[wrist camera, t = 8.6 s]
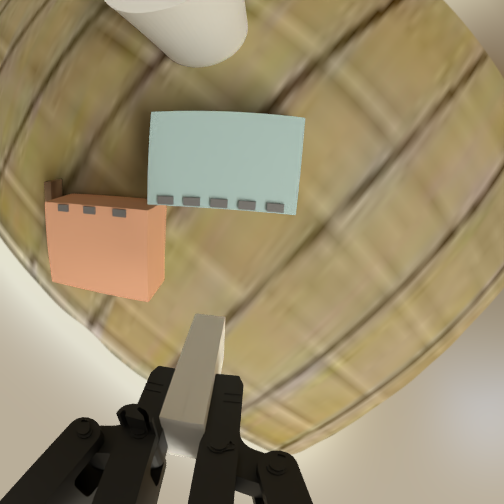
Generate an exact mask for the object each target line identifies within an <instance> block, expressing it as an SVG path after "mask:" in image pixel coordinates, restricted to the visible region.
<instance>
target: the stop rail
mask: <svg viewBox="0 0 504 504" xmlns="http://www.w3.org/2000/svg"><path fill="white" fill-rule="evenodd" d="M44 188H45V202H46V201H49V200H52V199H55V198H59V197H62V196H63V195H62V179H55V180H51V181H46V182H44Z"/></svg>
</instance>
